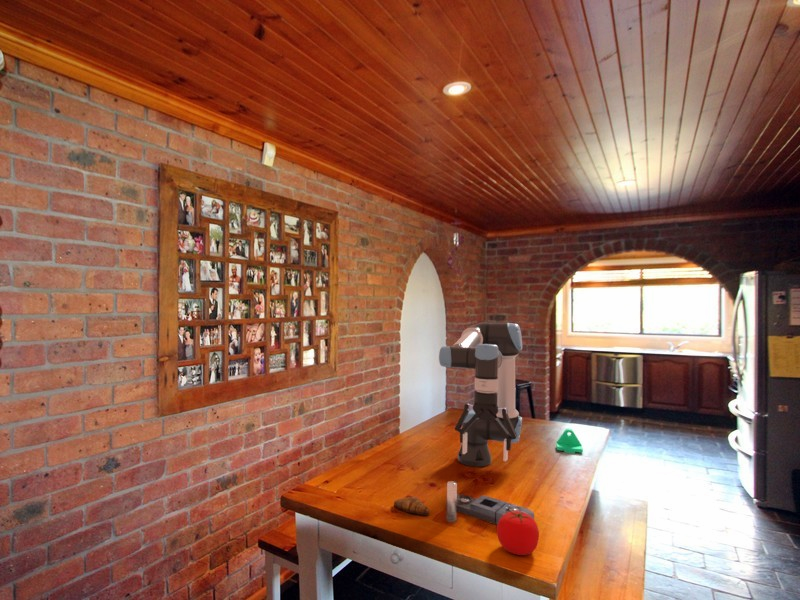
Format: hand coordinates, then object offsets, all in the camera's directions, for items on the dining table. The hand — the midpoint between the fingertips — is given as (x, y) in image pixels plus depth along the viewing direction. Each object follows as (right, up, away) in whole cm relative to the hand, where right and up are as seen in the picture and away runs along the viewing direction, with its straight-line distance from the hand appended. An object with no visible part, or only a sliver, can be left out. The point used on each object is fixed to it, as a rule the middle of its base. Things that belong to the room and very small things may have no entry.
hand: (484, 456), depth 140 cm
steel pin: (-11, -21, +1) cm, 24 cm away
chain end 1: (-2, -22, +8) cm, 23 cm away
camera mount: (+57, -25, +75) cm, 97 cm away
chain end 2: (+7, -22, +2) cm, 23 cm away
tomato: (+6, -22, -16) cm, 28 cm away
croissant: (-24, -22, +7) cm, 33 cm away
